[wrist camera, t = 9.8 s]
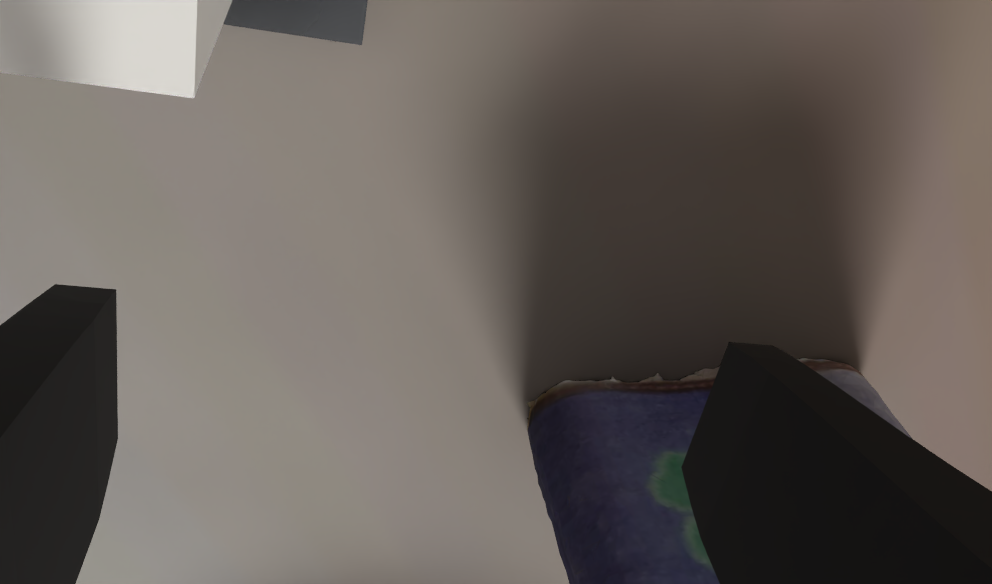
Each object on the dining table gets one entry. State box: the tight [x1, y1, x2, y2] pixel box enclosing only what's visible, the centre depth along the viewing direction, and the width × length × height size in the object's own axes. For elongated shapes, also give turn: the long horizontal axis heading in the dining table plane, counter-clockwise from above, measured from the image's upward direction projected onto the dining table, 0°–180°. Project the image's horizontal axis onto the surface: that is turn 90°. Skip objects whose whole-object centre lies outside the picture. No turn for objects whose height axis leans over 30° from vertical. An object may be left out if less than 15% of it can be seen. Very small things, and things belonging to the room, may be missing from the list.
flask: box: [527, 358, 911, 584], centre depth 20 cm, size 9×3×11 cm, turn 89°
